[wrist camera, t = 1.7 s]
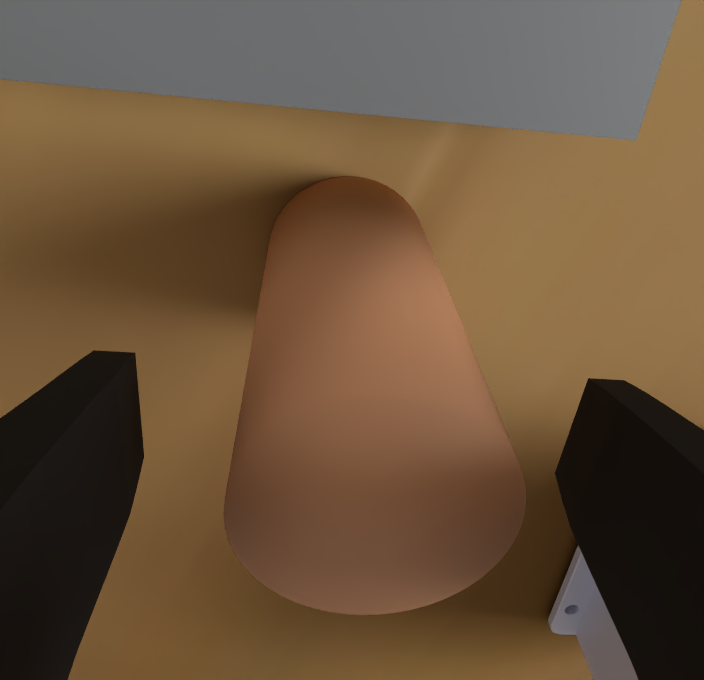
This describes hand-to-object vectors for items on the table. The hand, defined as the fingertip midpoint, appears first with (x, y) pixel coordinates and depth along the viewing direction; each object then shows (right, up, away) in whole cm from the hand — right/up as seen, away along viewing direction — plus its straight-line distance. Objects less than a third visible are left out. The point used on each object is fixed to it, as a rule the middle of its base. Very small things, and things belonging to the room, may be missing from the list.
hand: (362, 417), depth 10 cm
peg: (0, +3, +6) cm, 7 cm away
